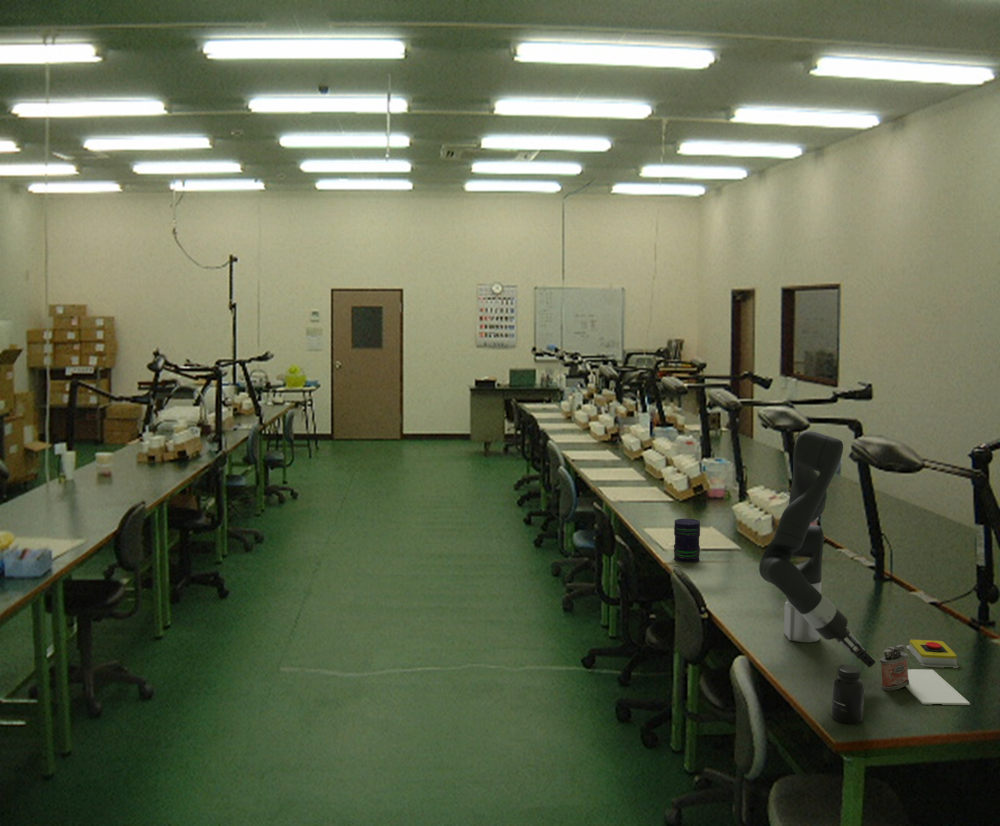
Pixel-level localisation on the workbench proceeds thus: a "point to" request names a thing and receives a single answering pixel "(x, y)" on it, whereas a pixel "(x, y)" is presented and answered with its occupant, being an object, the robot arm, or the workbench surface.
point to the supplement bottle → (847, 695)
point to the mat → (933, 688)
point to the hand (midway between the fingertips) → (871, 663)
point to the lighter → (894, 668)
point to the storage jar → (686, 540)
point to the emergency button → (933, 653)
